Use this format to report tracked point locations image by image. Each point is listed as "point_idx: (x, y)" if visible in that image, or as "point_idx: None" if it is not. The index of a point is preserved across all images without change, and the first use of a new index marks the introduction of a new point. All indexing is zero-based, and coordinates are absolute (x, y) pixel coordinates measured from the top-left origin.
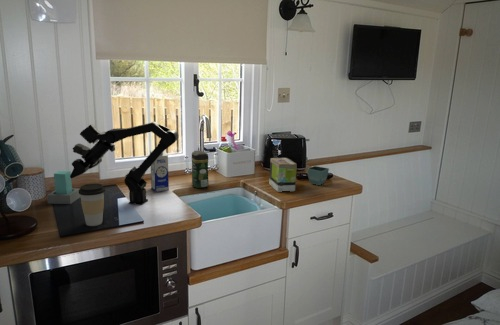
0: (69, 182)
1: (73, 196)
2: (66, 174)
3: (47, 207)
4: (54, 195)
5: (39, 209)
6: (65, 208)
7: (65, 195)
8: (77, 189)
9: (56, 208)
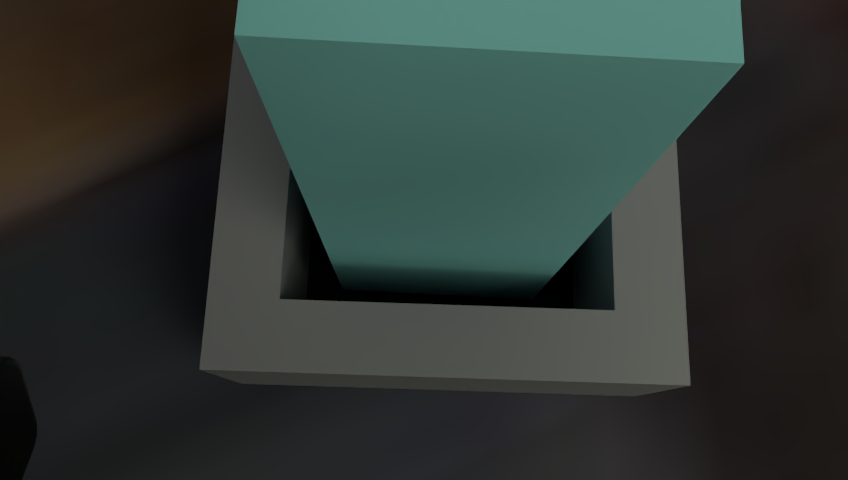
0: (504, 200)
1: (363, 380)
2: (370, 65)
3: (97, 98)
4: (231, 71)
5: (17, 29)
6: (32, 389)
7: (209, 278)
8: (619, 358)
9: (42, 246)
